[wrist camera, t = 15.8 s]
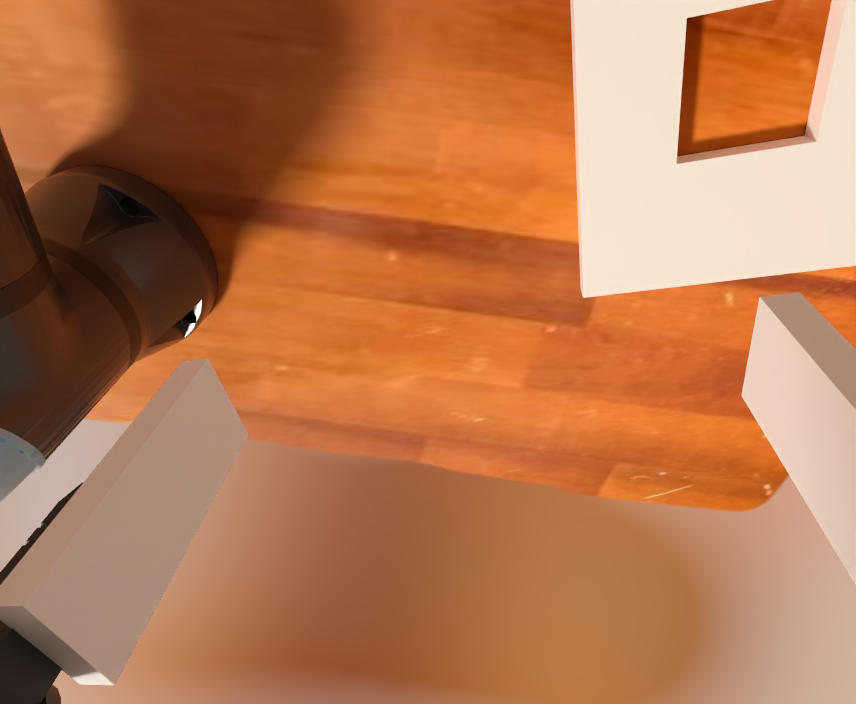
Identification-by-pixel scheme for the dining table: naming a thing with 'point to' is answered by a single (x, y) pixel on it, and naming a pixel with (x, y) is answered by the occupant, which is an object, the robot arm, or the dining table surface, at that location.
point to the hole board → (701, 160)
